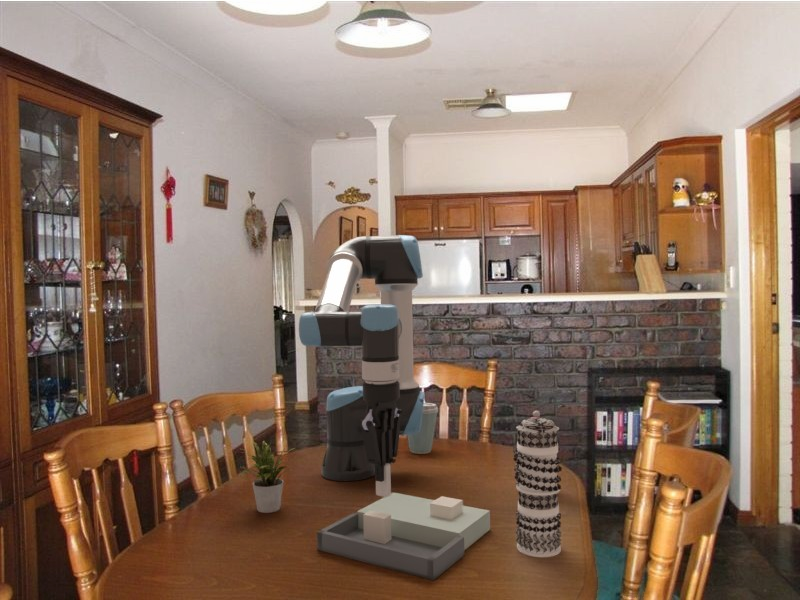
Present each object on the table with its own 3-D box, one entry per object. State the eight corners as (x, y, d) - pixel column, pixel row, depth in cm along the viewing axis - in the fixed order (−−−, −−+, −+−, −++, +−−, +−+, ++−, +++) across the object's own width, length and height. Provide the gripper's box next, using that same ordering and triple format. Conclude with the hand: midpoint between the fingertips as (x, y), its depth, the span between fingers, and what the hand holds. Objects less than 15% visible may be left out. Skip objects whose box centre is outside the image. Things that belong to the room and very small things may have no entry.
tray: (317, 549, 126) (317, 532, 126) (353, 529, 136) (353, 512, 136) (433, 580, 112) (433, 560, 112) (464, 555, 122) (464, 536, 122)
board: (357, 530, 136) (357, 511, 136) (393, 509, 148) (393, 492, 148) (459, 554, 123) (459, 533, 123) (490, 529, 135) (489, 510, 135)
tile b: (430, 515, 133) (429, 503, 133) (441, 507, 137) (441, 496, 137) (451, 519, 130) (451, 507, 130) (462, 512, 134) (462, 500, 134)
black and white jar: (511, 538, 130) (509, 415, 129) (557, 538, 129) (556, 414, 129) (518, 558, 121) (516, 425, 120) (568, 558, 120) (566, 424, 120)
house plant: (220, 509, 150) (218, 439, 150) (269, 494, 160) (268, 428, 160) (256, 524, 140) (254, 449, 140) (306, 507, 150) (304, 437, 150)
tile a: (370, 534, 132) (363, 539, 130) (370, 510, 132) (363, 514, 130) (391, 539, 129) (384, 543, 127) (390, 514, 129) (384, 518, 127)
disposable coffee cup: (405, 446, 204) (405, 399, 203) (439, 447, 203) (439, 399, 202) (402, 455, 193) (401, 406, 193) (438, 456, 192) (437, 406, 192)
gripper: (378, 387, 123) (380, 508, 125) (413, 377, 134) (415, 488, 136) (346, 384, 127) (349, 501, 129) (383, 374, 138) (385, 482, 140)
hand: (383, 494), depth 132 cm, fingers closed
